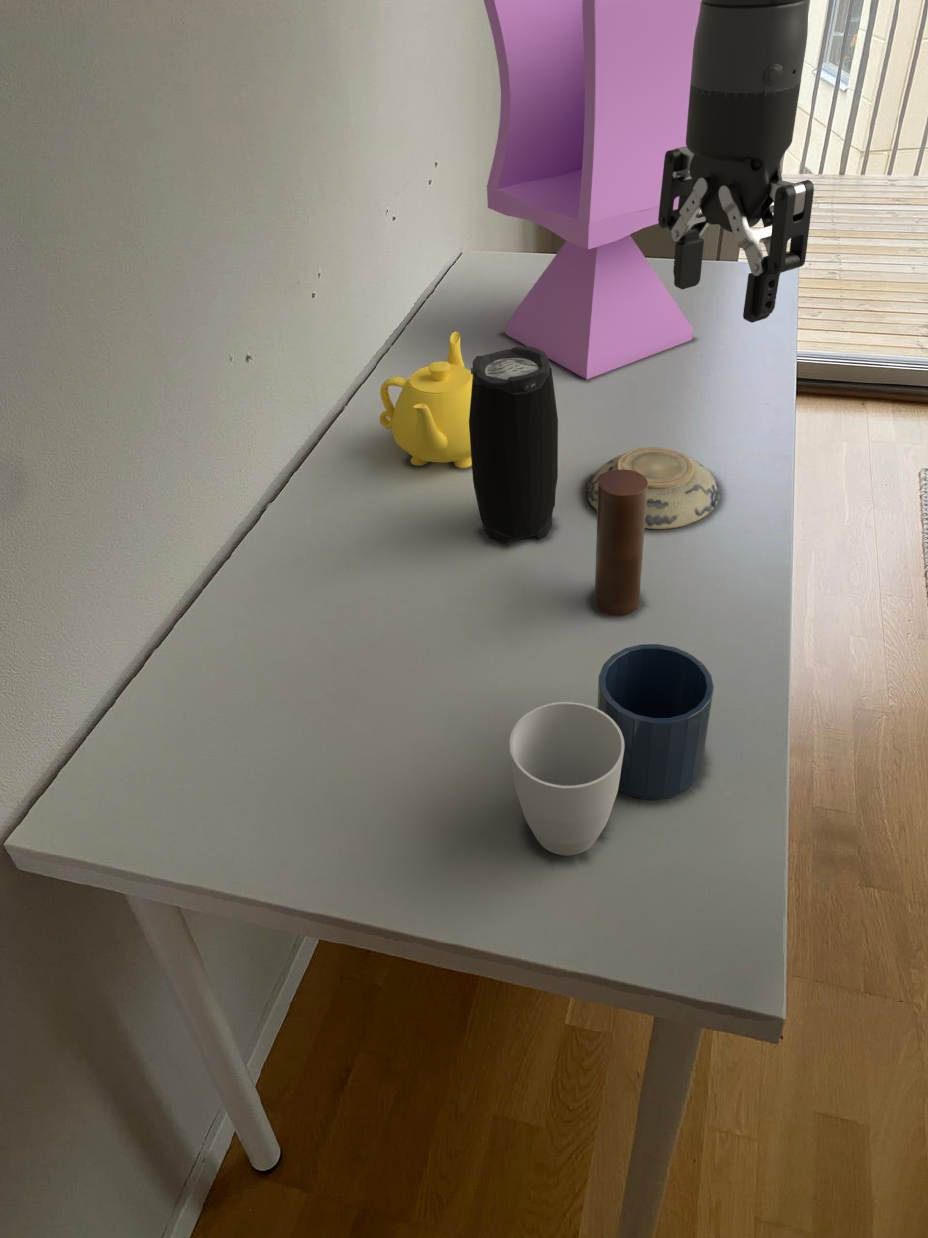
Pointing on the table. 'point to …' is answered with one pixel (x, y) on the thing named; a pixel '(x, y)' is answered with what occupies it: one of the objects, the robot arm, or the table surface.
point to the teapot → (433, 411)
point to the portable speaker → (514, 442)
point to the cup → (566, 773)
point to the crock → (657, 717)
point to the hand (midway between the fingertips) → (719, 301)
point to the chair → (592, 166)
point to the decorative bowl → (666, 486)
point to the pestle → (620, 541)
